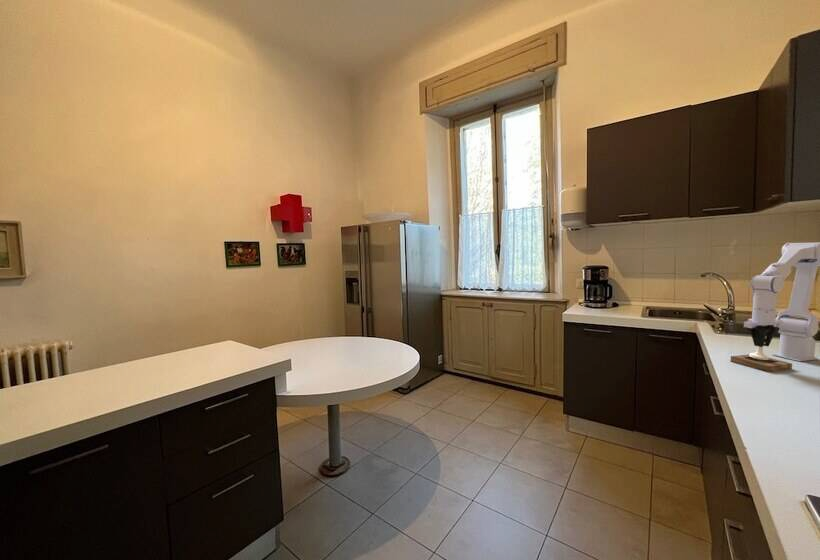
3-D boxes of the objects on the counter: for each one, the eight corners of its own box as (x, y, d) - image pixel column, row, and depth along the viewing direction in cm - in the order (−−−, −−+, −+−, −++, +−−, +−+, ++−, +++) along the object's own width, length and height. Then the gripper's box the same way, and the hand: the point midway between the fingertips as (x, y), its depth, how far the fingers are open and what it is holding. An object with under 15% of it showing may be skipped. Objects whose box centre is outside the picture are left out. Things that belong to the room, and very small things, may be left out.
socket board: (753, 358, 124) (753, 353, 124) (791, 369, 113) (792, 363, 113) (730, 361, 122) (730, 356, 122) (767, 372, 111) (768, 366, 111)
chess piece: (773, 360, 115) (777, 333, 113) (756, 359, 116) (760, 332, 114) (761, 355, 119) (765, 329, 118) (745, 354, 120) (749, 328, 119)
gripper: (765, 305, 121) (763, 341, 122) (735, 308, 118) (732, 344, 119) (791, 309, 114) (788, 346, 115) (759, 311, 111) (756, 350, 112)
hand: (761, 345), depth 117 cm, fingers closed on chess piece, 2 cm apart
